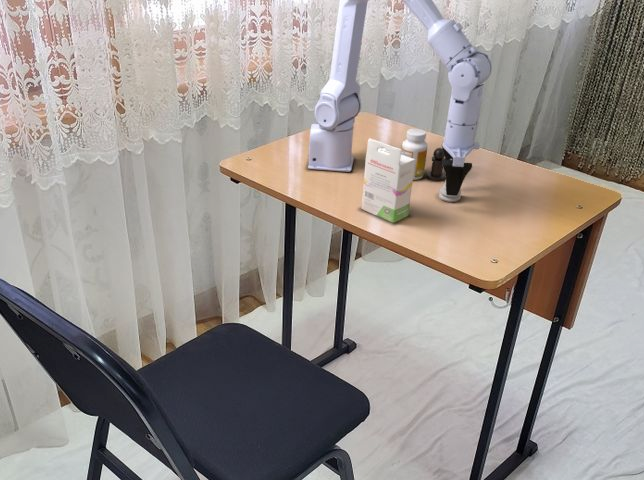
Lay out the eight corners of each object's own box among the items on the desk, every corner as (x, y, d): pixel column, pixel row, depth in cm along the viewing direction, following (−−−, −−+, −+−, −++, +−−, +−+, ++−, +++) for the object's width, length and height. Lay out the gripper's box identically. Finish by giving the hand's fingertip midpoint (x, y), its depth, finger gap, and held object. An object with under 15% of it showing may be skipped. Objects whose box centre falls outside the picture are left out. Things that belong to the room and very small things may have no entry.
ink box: (409, 216, 144) (419, 143, 135) (393, 224, 141) (402, 150, 132) (376, 201, 149) (383, 130, 140) (359, 209, 146) (366, 137, 138)
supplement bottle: (422, 170, 161) (428, 127, 156) (424, 181, 157) (430, 137, 151) (397, 170, 162) (402, 126, 156) (399, 180, 158) (404, 136, 152)
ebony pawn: (426, 180, 157) (430, 151, 153) (426, 172, 160) (430, 144, 157) (445, 181, 157) (450, 152, 153) (445, 174, 160) (449, 145, 156)
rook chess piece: (461, 195, 151) (468, 158, 147) (459, 204, 148) (465, 166, 143) (439, 192, 153) (445, 155, 148) (436, 201, 149) (442, 163, 144)
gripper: (485, 135, 134) (473, 203, 143) (481, 109, 146) (470, 173, 154) (446, 133, 135) (436, 200, 144) (445, 107, 147) (436, 171, 155)
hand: (451, 186), depth 149 cm, fingers open, 7 cm apart
